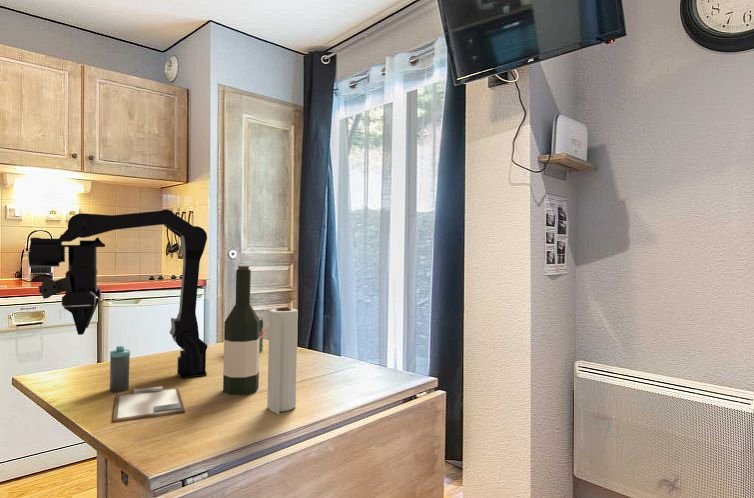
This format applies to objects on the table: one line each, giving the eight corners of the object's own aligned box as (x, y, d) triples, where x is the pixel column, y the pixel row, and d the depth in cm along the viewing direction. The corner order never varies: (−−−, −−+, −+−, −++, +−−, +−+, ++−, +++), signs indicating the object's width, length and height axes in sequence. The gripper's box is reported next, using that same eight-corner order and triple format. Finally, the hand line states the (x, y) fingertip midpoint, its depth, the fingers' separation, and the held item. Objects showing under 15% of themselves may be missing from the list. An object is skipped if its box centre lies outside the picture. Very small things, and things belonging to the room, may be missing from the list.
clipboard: (178, 389, 111) (178, 384, 111) (184, 412, 96) (185, 406, 96) (116, 396, 105) (116, 391, 105) (113, 422, 90) (113, 416, 90)
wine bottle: (265, 387, 114) (268, 266, 114) (245, 397, 106) (248, 267, 106) (237, 383, 117) (239, 265, 117) (215, 393, 109) (218, 266, 109)
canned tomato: (243, 348, 156) (244, 316, 156) (266, 349, 156) (266, 317, 156) (234, 353, 148) (234, 319, 148) (257, 355, 148) (258, 320, 148)
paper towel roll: (280, 401, 104) (282, 306, 104) (301, 406, 101) (303, 308, 101) (257, 410, 98) (259, 309, 98) (278, 416, 95) (281, 312, 95)
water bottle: (129, 386, 113) (130, 344, 113) (129, 390, 109) (129, 347, 109) (109, 388, 111) (110, 345, 111) (109, 393, 107) (109, 349, 107)
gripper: (48, 265, 115) (49, 327, 116) (33, 269, 99) (33, 341, 99) (100, 264, 120) (101, 323, 121) (94, 267, 104) (94, 337, 104)
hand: (83, 331), depth 111 cm, fingers open, 9 cm apart
